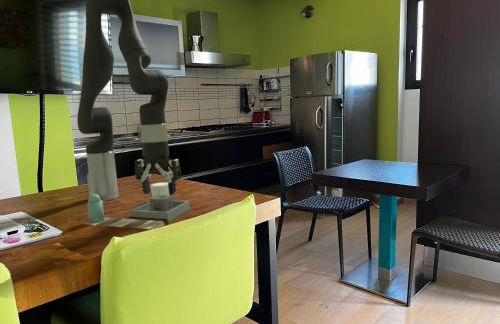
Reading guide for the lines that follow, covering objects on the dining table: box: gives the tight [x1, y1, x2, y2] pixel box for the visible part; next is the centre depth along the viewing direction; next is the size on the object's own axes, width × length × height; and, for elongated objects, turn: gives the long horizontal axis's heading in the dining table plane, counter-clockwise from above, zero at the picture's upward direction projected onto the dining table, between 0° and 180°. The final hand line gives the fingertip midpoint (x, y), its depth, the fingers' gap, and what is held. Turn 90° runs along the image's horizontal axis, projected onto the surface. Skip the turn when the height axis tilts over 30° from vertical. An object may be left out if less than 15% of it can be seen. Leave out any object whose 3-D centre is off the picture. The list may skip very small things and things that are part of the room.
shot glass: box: [150, 181, 169, 198], centre depth 125 cm, size 7×7×7 cm
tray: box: [130, 199, 191, 224], centre depth 112 cm, size 12×12×3 cm
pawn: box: [86, 194, 105, 224], centre depth 105 cm, size 4×4×8 cm
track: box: [83, 216, 165, 230], centre depth 103 cm, size 22×7×1 cm, turn 71°
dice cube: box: [149, 194, 175, 212], centre depth 112 cm, size 5×5×5 cm
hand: (159, 194), depth 111 cm, fingers open, 8 cm apart
